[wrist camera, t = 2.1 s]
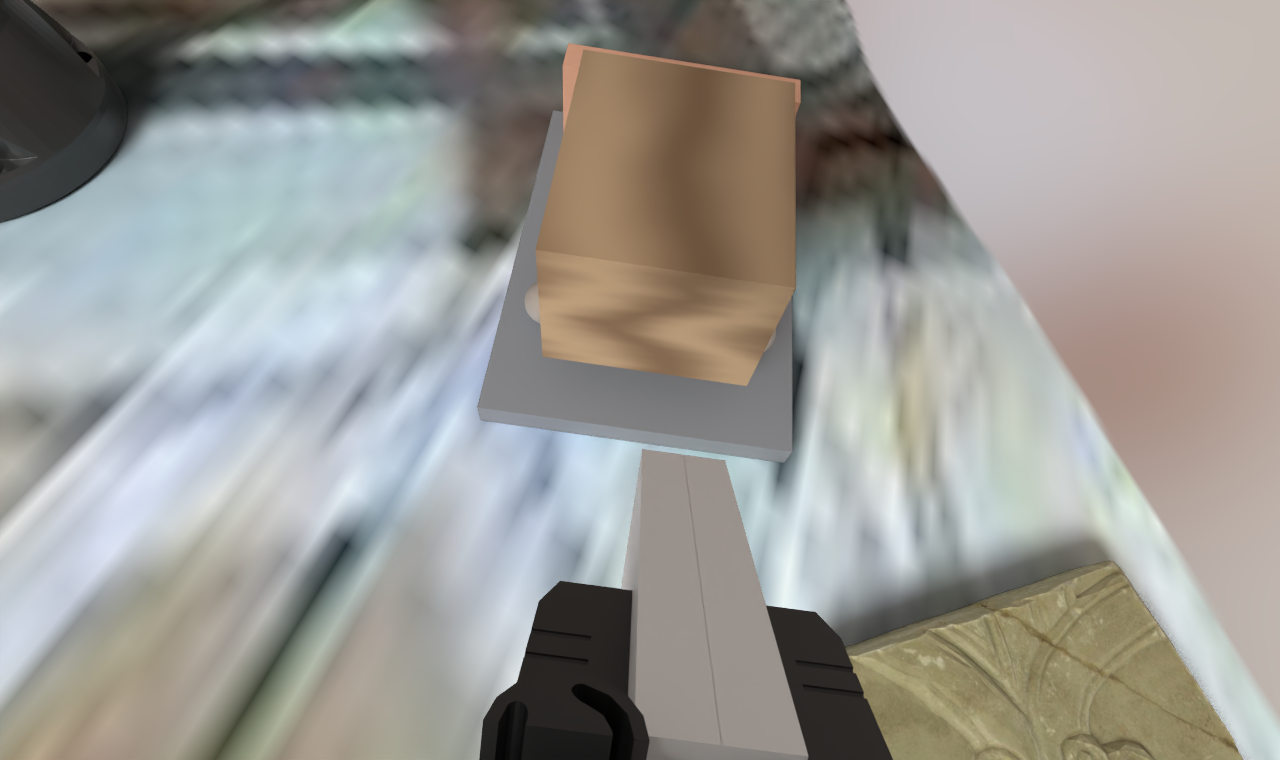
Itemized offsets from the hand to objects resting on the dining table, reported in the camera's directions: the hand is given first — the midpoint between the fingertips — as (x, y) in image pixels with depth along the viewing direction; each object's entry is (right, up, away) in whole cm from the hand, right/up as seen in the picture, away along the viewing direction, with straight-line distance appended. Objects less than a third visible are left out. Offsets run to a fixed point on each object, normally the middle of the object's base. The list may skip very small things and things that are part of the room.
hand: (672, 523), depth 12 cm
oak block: (0, +7, +25) cm, 26 cm away
